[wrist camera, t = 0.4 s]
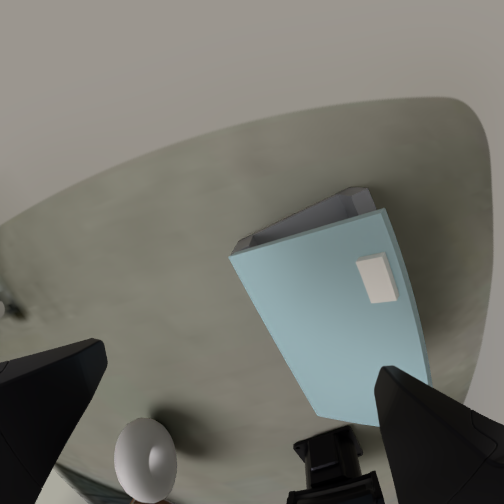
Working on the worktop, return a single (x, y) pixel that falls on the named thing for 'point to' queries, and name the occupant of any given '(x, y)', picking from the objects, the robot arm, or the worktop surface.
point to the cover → (338, 311)
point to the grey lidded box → (314, 217)
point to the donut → (146, 460)
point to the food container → (162, 503)
